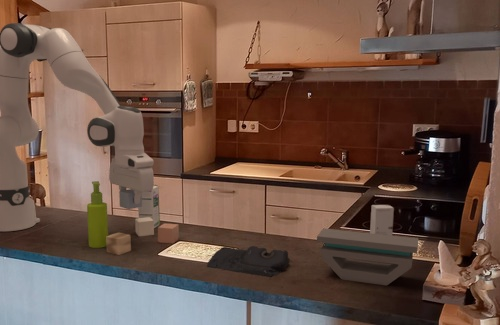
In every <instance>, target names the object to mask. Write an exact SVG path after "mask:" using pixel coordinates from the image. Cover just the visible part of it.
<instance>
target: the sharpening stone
mask: <svg viewBox="0 0 500 325" xmlns="http://www.w3.org/2000/svg"><path fill="white" fill-rule="evenodd" d="M316 242H317V243H322V244H323V243H324V244H323V245H322V246H321V248H320V258H321V259H322V260H323V261H324V262H325V263H326V264H327V266H329V268H331V270H332V271H333V272H334V273H335V274H336V275H337V276H338V277H339V278H340V279H341V280H344V281H352V282H357V283H358V282H360V283H366V284H374V285H381V286H388V285H390V284H391V283H392V282H394V281H395V280H397V279H398V278H400V277H401V276H403V275H404V274H405V273H407V272H408V271H410V270H411V269H412V265H413V259H414V254H418V248H419V238H418V237H411V236H410V237H408V236H401V235H400V236H399V235H393V234H392V235H382V234H372V233H370V232H362V231H361V232H360V231H351V230H343V229H342V230H341V229H334V228H333V229H332V228H322V229H321V231H320V232H318V234H317V236H316Z"/></svg>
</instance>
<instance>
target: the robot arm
mask: <svg viewBox="0 0 500 325" xmlns="http://www.w3.org/2000/svg"><path fill="white" fill-rule="evenodd" d="M34 61H37V62H45V61H47V63H48V65H49V66H50V69H51V70H52V72H53V74H54V76H55V77H56V79H58V81H59V82H60V84H62V85H63V86H64V87H66V88H69V89H71V90H74V91H78V92H81V93H83V94H85V95H87V96H89V97H90V98H92V100H94V101H95V102H96V104H97V105H98V106H99V108H100V109H101V111H102V112H103V115H100V116H97V117H94V118H92V119H91V120H90V121H89V123H88V124H87V127H86V128H87V129H86V132H87V133H86V134H87V137H88V140H89V141H90V143H91V144H93V146H96V147H101V148H104V147H114V154H115V155H114V156H113V157H112V158H111V162H110V164H109V169H108V170H109V171H108V172H109V174H108V181H109V182H110V184H112V185H116V186H118V189H119V191H123V190H127V189H128V190H129V189H133V190H134V193H135V196H134V198H133V203H135V204H138V203H140V197H141V195H142V192H149V191H152V189H153V186H155V185H154V182H155V181H154V180H155V178H154V175H155V174H154V170H153V166H154V163H155V162H154V159H153V158H152V157H150V156H149V155H148V154H147V153H146V152H145V147H144V143H143V141H144V140H143V139H144V136H145V130H144V129H145V128H144V118H143V114H142V112H141V110H140V109H139V108H137V107H134V106H129V105H122V104H121V102H120V101H119V100H118V98H117V97H116V95H115V94H114V92H113V91H112V90H111V88H110V87H109V85H108V84H107V83H106V81H105V80H104V79H103V78H102V77H101V75H100V74H99V73H98V72H97V71H96V70H95V68H93V66H92V65H91V63H90V62H89V61H88V58H87V57H86V56H85V54H84V52H83V50H82V48H81V47H80V45H79V44H78V42H77V41H76V40H75V38H74V37H73V36H72V34H71V33H69V31H68V30H66V29H65V28H62V27H55V28H51V27H45V26H41V25H38V24H29V23H28V24H27V23H22V22H20V23H19V22H13V23H12V22H11V23H8V24H5V25H4V26H3V27H1V29H0V232H13V231H14V232H15V231H21V230H26V229H29V228H31V227H33V226H35V225H36V224H37V223H40V222H41V218H39V217H37V212H36V205H35V200H34V199H33V198H31V197H30V195H31V193H30V192H31V188H30V186H29V185H28V184H29V181H28V167H27V166H28V165H27V164H26V162H25V161H24V160H22V159H20V157H19V155H18V152H17V150H16V147H22V146H25V145H29V144H30V143H32V142H34V141H35V140H36V139H37V138H38V136H39V133H40V131H39V130H40V129H39V125H38V122H37V121H36V120H35V119H34V118H33V116H32V114H31V111H30V110H31V109H30V107H29V98H28V96H29V95H28V94H29V78H30V66H31V65H32V62H34Z"/></svg>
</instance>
